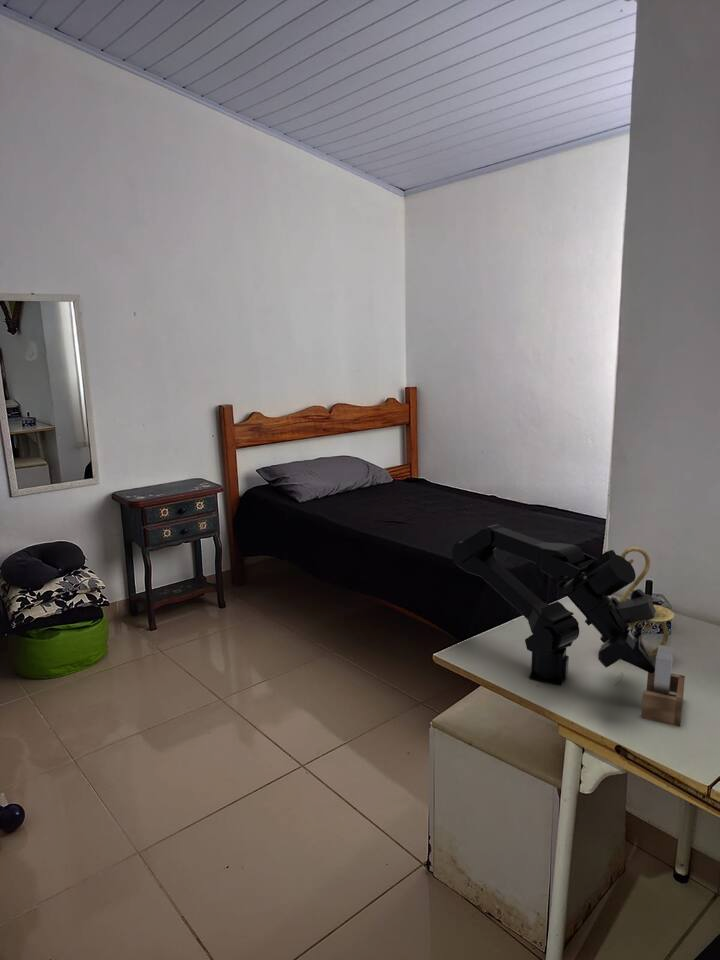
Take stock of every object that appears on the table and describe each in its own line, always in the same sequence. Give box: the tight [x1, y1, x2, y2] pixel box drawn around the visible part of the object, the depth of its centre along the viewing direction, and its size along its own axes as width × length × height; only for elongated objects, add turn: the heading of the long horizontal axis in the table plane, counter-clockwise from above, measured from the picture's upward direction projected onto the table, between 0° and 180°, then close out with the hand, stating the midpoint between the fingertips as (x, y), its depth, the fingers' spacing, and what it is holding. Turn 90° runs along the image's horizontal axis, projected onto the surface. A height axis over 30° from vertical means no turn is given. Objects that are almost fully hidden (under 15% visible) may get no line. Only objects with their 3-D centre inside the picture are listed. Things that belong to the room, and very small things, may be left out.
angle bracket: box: [653, 644, 677, 697], centre depth 118 cm, size 5×6×11 cm
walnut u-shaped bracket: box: [640, 672, 686, 728], centre depth 118 cm, size 6×10×5 cm, turn 151°
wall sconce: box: [605, 546, 675, 657], centre depth 137 cm, size 14×10×25 cm
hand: (654, 671), depth 118 cm, fingers closed, pressing on angle bracket
